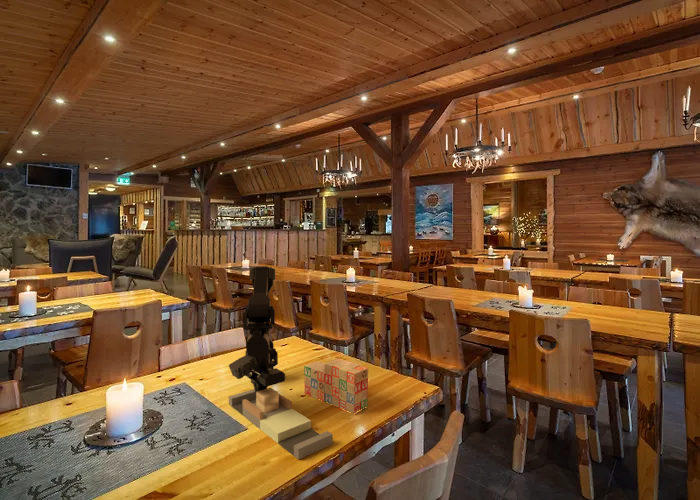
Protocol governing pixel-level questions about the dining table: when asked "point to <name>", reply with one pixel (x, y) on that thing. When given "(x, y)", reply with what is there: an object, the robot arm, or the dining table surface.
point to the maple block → (267, 400)
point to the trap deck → (282, 424)
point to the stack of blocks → (338, 383)
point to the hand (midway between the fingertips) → (259, 399)
